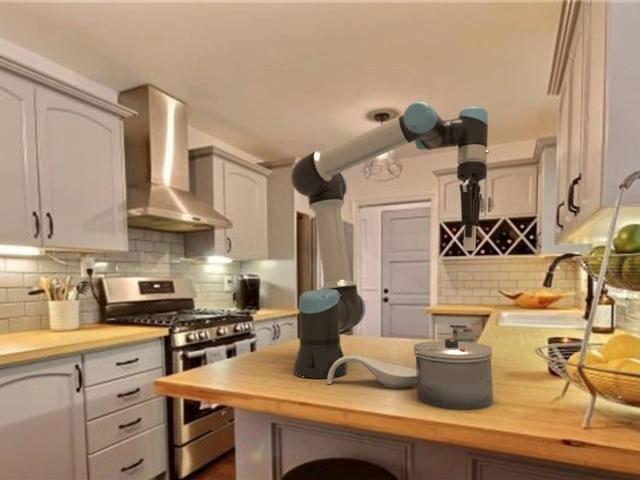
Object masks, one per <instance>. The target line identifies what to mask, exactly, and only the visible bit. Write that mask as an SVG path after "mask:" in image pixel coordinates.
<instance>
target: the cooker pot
mask: <svg viewBox="0 0 640 480" xmlns="http://www.w3.org/2000/svg"><path fill="white" fill-rule="evenodd" d="M414 356H415V369H416V378H417V382H416V397H417V400H418V401H420V402H421V403H423V404H425V405H429V406H432V407H436V408H440V409H445V410H455V411H458V410H460V411H472V410H481V409H482V410H483V409H485V408H488V407H491V406H492V405H493V404H494V391H493V389H494V388H493V387H494V386H493V375H492V374H493V373H492V372H493V370H492V356H493V353H492V354H491V355H490V356H487V357H482V358H473V359H448V358H436V357H429V356H424V355H420V354H417V353H416V352H414Z"/></svg>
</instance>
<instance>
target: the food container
mask: <svg viewBox="0 0 640 480" xmlns="http://www.w3.org/2000/svg"><path fill="white" fill-rule="evenodd" d="M452 339H458V341H462V342H473V343H475V342H474V341H475V340H474V339H476V332H475V331H474V329H472V328H468V327H467V328H466V327H452Z"/></svg>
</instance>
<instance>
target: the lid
mask: <svg viewBox="0 0 640 480" xmlns="http://www.w3.org/2000/svg"><path fill="white" fill-rule="evenodd" d="M413 352H414V353H415V352H416V353H417V354H420V355H424V356H429V357H436V358H448V359H473V358H482V357H487V356H490V355H491V354H492V355H493V348H492V347H491V346H490V345H487V344H483V343H479V342H474V343H473V342H462V341H458V339H453V338H444V340H438V341H436V340H434V341H433V340H432V341H431V340H430V341H423V342H419V343H416V344H414V345H413Z"/></svg>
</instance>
